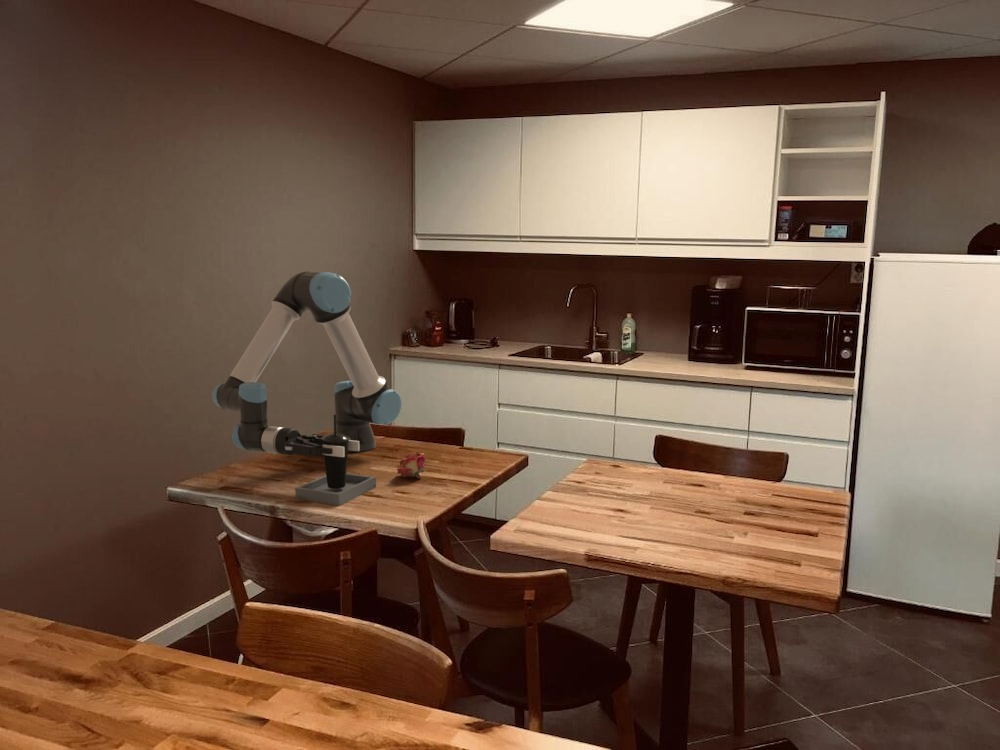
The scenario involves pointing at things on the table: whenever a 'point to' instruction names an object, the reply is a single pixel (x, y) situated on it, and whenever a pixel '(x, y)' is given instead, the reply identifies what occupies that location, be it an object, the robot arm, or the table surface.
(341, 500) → the tray
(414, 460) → the flower
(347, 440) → the drinking cup
